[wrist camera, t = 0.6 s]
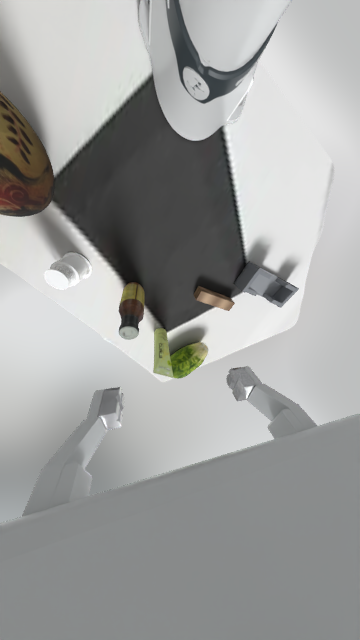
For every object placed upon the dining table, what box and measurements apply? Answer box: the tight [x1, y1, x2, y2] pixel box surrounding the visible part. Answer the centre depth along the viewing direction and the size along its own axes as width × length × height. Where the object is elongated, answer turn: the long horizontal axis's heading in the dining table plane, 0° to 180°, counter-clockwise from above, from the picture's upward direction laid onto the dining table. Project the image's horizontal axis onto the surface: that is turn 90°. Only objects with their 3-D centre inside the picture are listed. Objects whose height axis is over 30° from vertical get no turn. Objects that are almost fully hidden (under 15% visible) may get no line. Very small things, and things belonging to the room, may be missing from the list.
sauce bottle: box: [119, 282, 144, 340], centre depth 38 cm, size 6×6×20 cm
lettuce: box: [170, 342, 208, 378], centre depth 63 cm, size 12×21×11 cm, turn 131°
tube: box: [153, 328, 174, 378], centre depth 50 cm, size 6×5×20 cm
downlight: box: [44, 252, 92, 290], centre depth 35 cm, size 8×7×10 cm
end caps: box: [234, 262, 299, 308], centre depth 48 cm, size 19×8×6 cm, turn 65°
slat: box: [194, 286, 235, 311], centre depth 50 cm, size 14×4×4 cm, turn 65°
